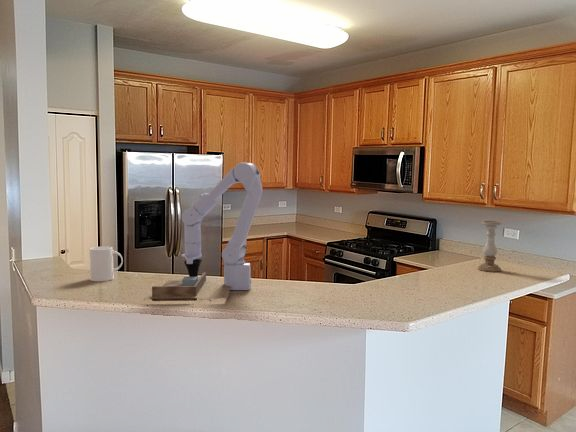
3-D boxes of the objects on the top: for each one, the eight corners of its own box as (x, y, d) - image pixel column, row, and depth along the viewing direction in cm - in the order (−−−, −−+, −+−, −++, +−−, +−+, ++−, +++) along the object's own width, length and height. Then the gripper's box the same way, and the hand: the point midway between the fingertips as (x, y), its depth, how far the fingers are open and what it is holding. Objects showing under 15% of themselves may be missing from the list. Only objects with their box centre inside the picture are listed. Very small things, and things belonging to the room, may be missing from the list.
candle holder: (504, 272, 184) (507, 222, 183) (483, 272, 185) (485, 222, 183) (495, 267, 193) (497, 220, 191) (474, 267, 193) (476, 220, 191)
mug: (125, 275, 178) (124, 245, 177) (120, 280, 169) (119, 249, 168) (93, 276, 176) (92, 246, 175) (87, 282, 167) (86, 250, 166)
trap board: (206, 284, 164) (205, 272, 163) (196, 300, 143) (195, 286, 143) (167, 284, 163) (167, 272, 163) (152, 300, 143) (151, 286, 142)
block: (197, 285, 157) (197, 276, 157) (195, 288, 153) (195, 279, 152) (184, 285, 157) (184, 276, 157) (182, 288, 152) (182, 279, 152)
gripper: (185, 239, 167) (186, 275, 168) (177, 245, 153) (177, 285, 154) (204, 239, 167) (205, 275, 169) (198, 245, 153) (198, 284, 154)
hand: (193, 280), depth 161 cm, fingers closed
